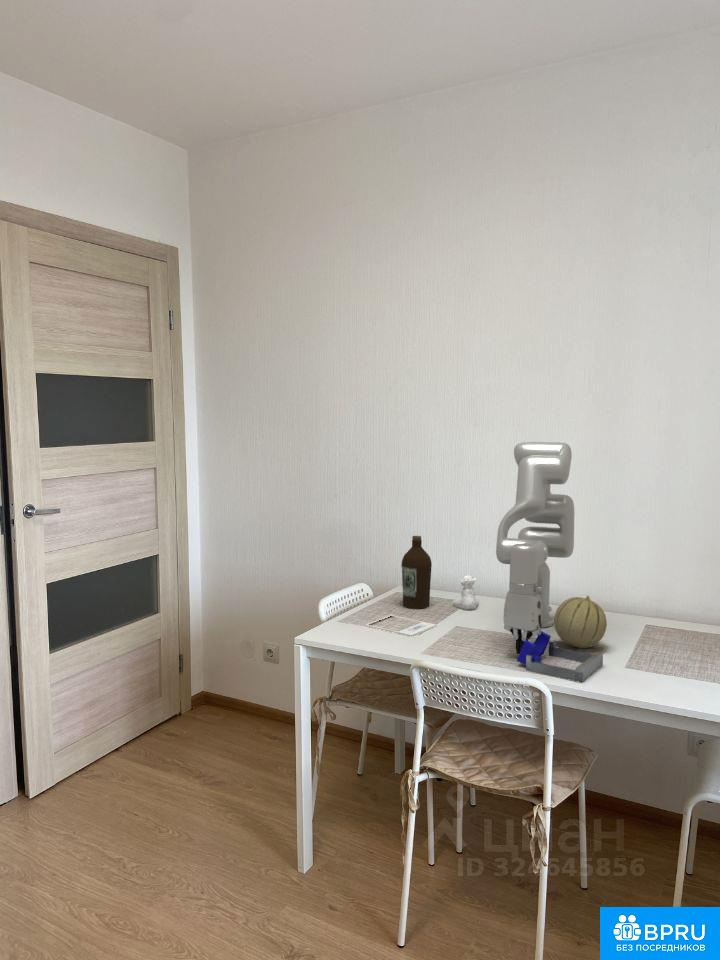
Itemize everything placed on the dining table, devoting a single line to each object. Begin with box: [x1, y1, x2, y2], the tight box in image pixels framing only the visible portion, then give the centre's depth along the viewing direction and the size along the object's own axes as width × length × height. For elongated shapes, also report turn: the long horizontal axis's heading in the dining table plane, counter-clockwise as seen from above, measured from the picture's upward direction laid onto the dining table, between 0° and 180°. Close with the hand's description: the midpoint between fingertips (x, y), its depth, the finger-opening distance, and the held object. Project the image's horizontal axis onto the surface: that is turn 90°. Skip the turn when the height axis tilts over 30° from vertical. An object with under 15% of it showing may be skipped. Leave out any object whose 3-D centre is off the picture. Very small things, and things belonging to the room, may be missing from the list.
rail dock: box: [525, 640, 604, 683], centre depth 195 cm, size 16×15×4 cm
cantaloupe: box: [553, 595, 608, 649], centre depth 213 cm, size 15×15×15 cm
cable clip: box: [516, 630, 552, 666], centre depth 200 cm, size 12×4×6 cm, turn 144°
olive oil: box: [400, 535, 433, 610], centre depth 258 cm, size 11×11×25 cm
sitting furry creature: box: [452, 574, 480, 611], centre depth 256 cm, size 10×9×12 cm
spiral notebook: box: [364, 614, 438, 638], centre depth 234 cm, size 15×1×18 cm
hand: (521, 653), depth 202 cm, fingers closed
